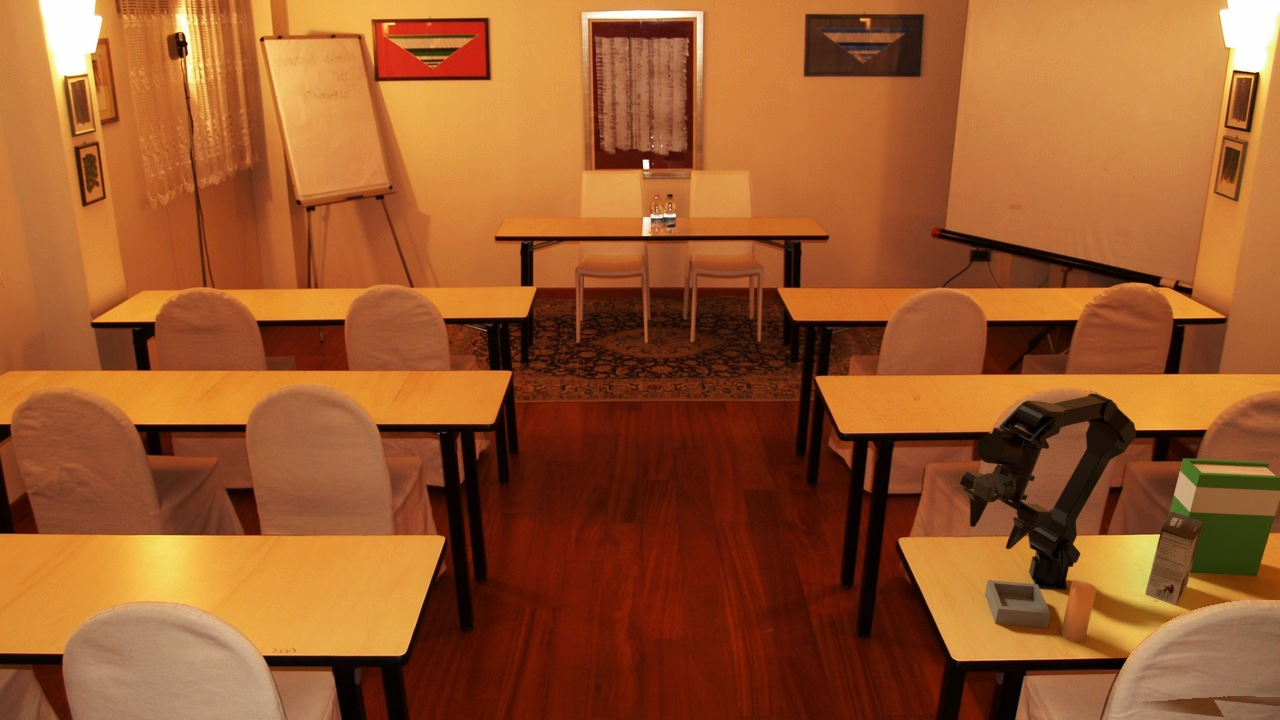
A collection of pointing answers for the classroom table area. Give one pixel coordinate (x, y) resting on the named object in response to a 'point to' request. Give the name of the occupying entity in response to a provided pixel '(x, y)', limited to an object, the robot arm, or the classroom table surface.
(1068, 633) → the orange cylinder
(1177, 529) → the coffee box
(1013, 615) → the tray
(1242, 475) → the hardback book
